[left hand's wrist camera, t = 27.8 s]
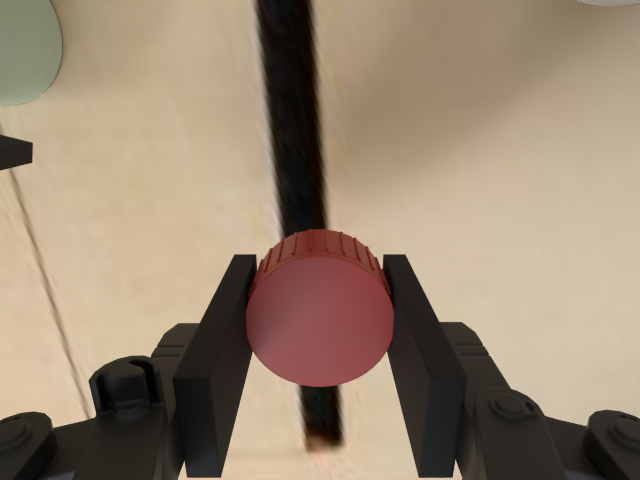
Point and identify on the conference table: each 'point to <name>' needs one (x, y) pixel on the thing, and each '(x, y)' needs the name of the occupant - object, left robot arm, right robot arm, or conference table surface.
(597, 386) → the conference table surface
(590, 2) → the projector
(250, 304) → the cap
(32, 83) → the bottle
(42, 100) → the conference table surface
